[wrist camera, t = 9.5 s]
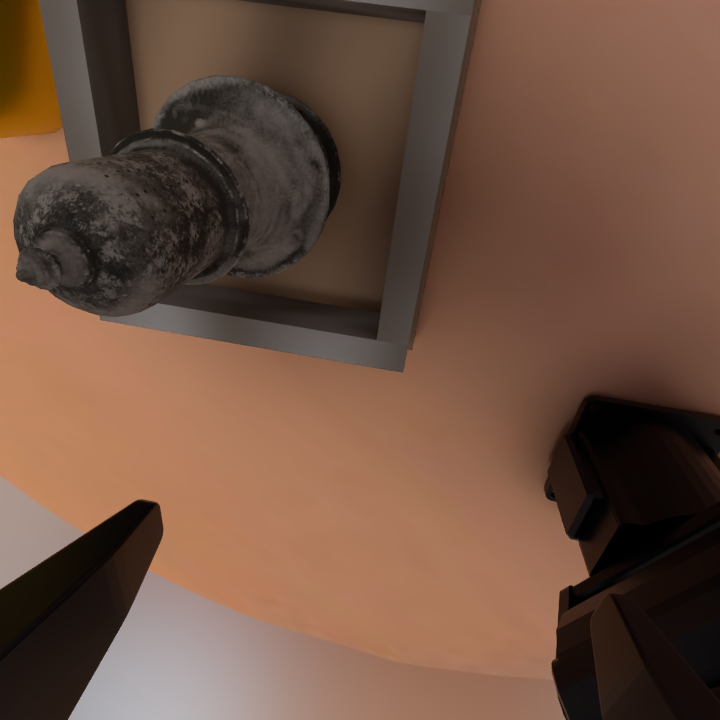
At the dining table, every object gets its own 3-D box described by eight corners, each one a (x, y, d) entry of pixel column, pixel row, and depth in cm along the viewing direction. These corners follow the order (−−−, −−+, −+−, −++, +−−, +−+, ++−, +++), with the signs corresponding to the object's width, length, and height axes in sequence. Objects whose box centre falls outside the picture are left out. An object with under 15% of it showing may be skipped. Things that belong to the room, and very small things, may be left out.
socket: (484, -24, 14) (498, -59, 11) (413, 337, 21) (409, 380, 18) (95, -68, 15) (6, -113, 12) (144, 292, 22) (94, 325, 19)
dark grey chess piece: (335, 264, 18) (206, 469, 8) (196, 231, 19) (-103, 390, 8) (363, 100, 16) (214, 94, 5) (197, 63, 16) (-267, -14, 5)
